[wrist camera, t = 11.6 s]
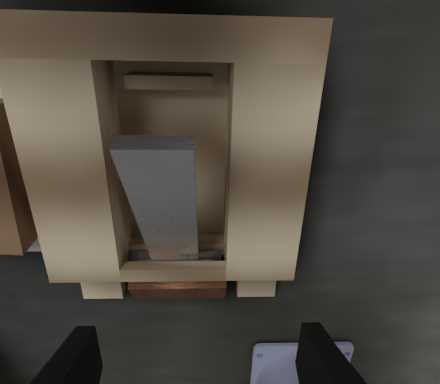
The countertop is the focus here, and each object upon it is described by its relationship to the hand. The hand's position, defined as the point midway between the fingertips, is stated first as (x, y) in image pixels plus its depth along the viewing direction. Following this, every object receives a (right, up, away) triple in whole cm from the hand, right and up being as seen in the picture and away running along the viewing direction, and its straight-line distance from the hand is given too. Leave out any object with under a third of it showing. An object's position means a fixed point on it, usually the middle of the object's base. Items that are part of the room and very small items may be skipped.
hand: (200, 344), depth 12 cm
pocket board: (-2, +6, +8) cm, 11 cm away
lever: (-2, +3, +5) cm, 6 cm away
